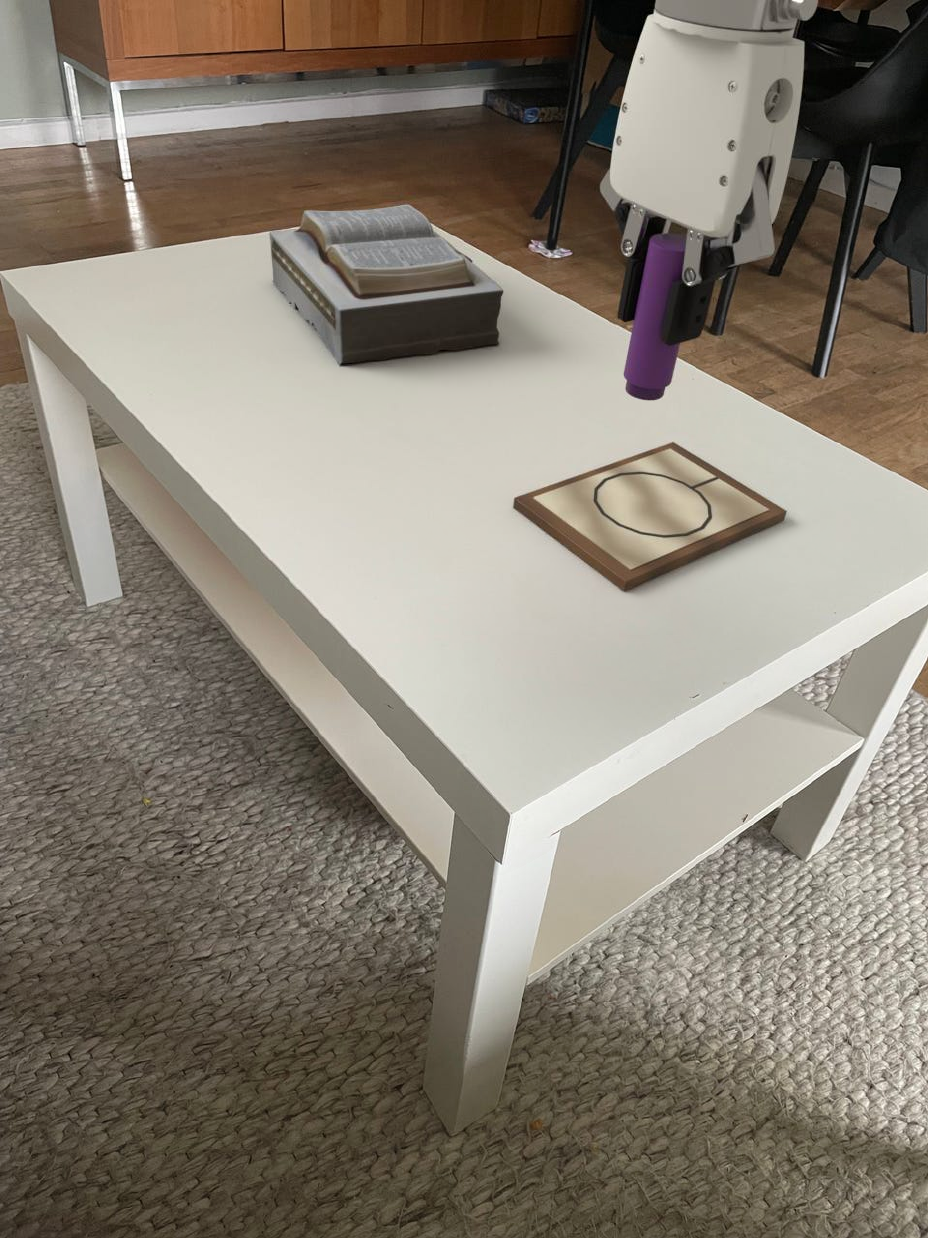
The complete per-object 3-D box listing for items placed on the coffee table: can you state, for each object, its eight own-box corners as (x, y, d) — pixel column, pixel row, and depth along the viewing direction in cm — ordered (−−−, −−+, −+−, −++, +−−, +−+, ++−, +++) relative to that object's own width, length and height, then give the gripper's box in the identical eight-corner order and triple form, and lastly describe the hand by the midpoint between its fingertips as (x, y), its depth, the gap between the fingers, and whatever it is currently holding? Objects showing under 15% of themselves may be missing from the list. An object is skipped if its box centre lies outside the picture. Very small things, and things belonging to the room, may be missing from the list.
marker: (669, 385, 69) (703, 237, 62) (666, 406, 66) (701, 254, 60) (623, 377, 69) (652, 229, 63) (618, 397, 67) (648, 246, 60)
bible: (449, 268, 131) (454, 189, 125) (509, 358, 111) (519, 270, 105) (267, 271, 125) (264, 189, 119) (297, 368, 105) (294, 275, 99)
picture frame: (671, 450, 98) (673, 440, 97) (783, 520, 90) (787, 509, 89) (512, 507, 88) (514, 495, 87) (623, 591, 80) (626, 580, 79)
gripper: (901, 26, 50) (795, 367, 62) (665, -29, 60) (612, 275, 72) (808, 32, 47) (714, 393, 58) (572, -28, 56) (532, 293, 68)
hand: (658, 325), depth 65 cm, fingers closed on marker, 3 cm apart
